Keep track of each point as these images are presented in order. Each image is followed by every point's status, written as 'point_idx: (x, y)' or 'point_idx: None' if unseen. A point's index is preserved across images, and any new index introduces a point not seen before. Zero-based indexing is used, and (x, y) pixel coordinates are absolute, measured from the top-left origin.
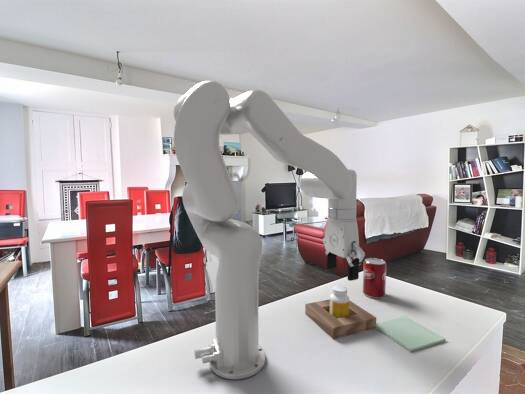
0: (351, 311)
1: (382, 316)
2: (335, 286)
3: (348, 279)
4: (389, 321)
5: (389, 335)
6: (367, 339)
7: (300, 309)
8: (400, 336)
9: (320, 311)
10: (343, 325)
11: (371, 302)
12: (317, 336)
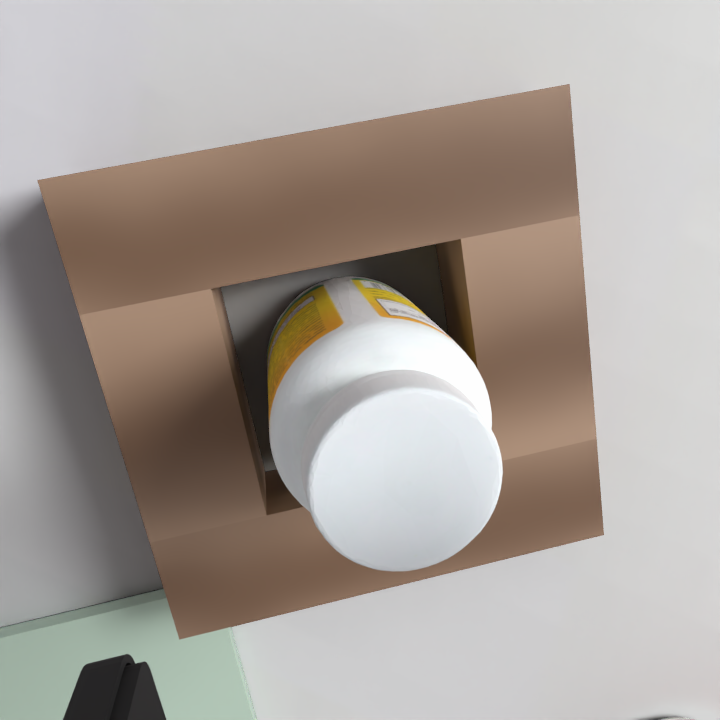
0: None
1: (340, 696)
2: (481, 451)
3: (89, 667)
4: (235, 709)
5: (49, 624)
6: (42, 453)
7: (613, 78)
8: (24, 688)
9: (378, 186)
10: (76, 302)
11: (552, 711)
12: (126, 52)
